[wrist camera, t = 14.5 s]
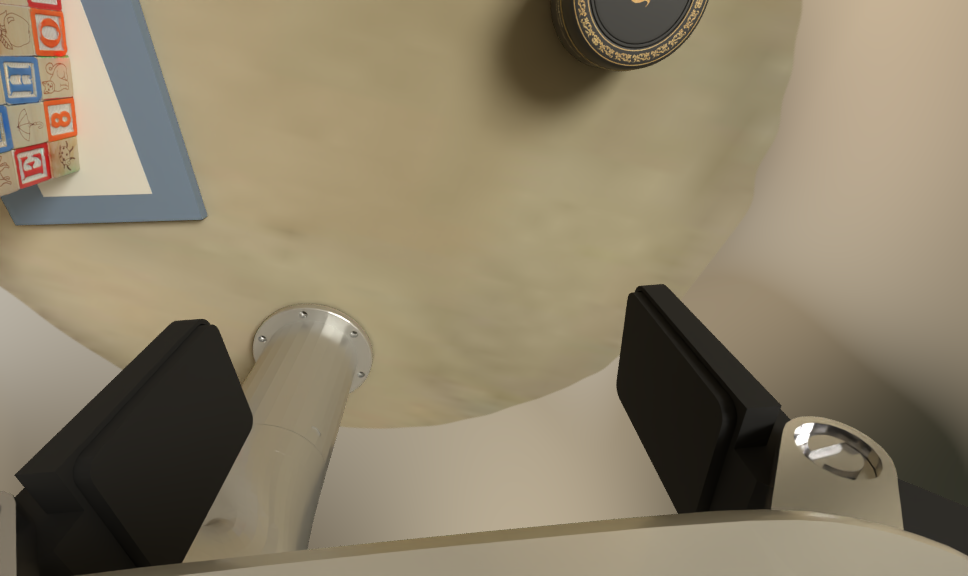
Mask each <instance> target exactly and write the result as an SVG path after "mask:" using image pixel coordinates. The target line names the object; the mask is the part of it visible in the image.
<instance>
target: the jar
mask: <svg viewBox="0 0 968 576" xmlns="http://www.w3.org/2000/svg"><path fill="white" fill-rule="evenodd" d="M707 3H708V0H551V13H552V19H553V23H554V27H555V30H556V32H557V35H558V37H559V39H560V41H561V42H562V44H563V45H564V47H565V48H566V49H567V50H568V52H569V53H570V54H571V55H573V56H574V57H575V58H576V59H578V60H579V61H581V62H583V63H585V64H587V65H590V66H593V67H598V68H603V69H607V70H612V71H629V70H635V69H640V68H644V67H648V66H651V65H653V64H656V63H658V62H660V61H661V60H663V59H665V58H666V57H668V56H669V55H671V54H672V53H673V52H675V51H676V50H677V49H678V48H679V47H680V46H681V45H682V44H683V43H684V42H685V41H686V40H687V39H688V38H689V36H690V35H691V34H692V32H693V31H694V29H695V28H696V26H697V25H698V23H699V21H700V19H701V17H702V15H703V13H704V11H705V9H706V6H707Z"/></svg>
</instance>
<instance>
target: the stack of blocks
mask: <svg viewBox="0 0 968 576" xmlns="http://www.w3.org/2000/svg"><path fill="white" fill-rule="evenodd" d="M61 9H62V5H61V0H0V197H1V196H3V195H8V194H10V193H13V192H16V191H18V189H23V188H26V187H29V186H32V185H35V184H38V183H41V182H44V181H47V180H49V179H54V178H58V177H61V176H64V175H67V174H70V173H73V172H76V171H79V169H80V164H79V153H78V144H77V137H76V136H77V123H76V114H75V105H74V99H73V83H72V73H71V64H70V58H69V56H68V54H67V45H66V34H65V26H64V16H63V12H62V10H61Z"/></svg>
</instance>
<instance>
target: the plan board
mask: <svg viewBox="0 0 968 576" xmlns="http://www.w3.org/2000/svg"><path fill="white" fill-rule="evenodd" d="M61 5H62V9H61V10H62V12H63V16H64V26H65V34H66V45H67V54H68V56H69V58H70V64H71V73H72V83H73V99H74V105H75V114H76V123H77V136H76V137H77V144H78V153H79V164H80V169H79V171H76V172H73V173H70V174H67V175H64V176H61V177H58V178H54V179H49V180H47V181H44V182H41V183H38V184H35V185H32V186H29V187H26V188H23V189H18V191H16V192H13V193H10V194H8V195H3V196H1V199H2V201H3V203H4V205H5V206H6V208H7V210H8V212H9V214H10V216H11V217H12V219H13V221H14V223H15V225H42V224H74V223H107V222H139V221H171V220H202V219H204V218H205V217H207V213H206V209H205V206H204V203H203V200H202V197H201V194H200V191H199V188H198V184H197V181H196V178H195V175H194V172H193V169H192V166H191V162H190V159H189V156H188V153H187V150H186V147H185V144H184V140H183V137H182V134H181V131H180V128H179V125H178V122H177V118H176V115H175V112H174V109H173V106H172V103H171V100H170V97H169V93H168V90H167V87H166V84H165V81H164V78H163V75H162V71H161V68H160V65H159V62H158V59H157V56H156V53H155V49H154V46H153V43H152V40H151V37H150V34H149V31H148V27H147V24H146V21H145V18H144V15H143V12H142V9H141V6H140V2H139V0H61Z"/></svg>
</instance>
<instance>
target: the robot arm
mask: <svg viewBox="0 0 968 576" xmlns="http://www.w3.org/2000/svg"><path fill="white" fill-rule="evenodd" d="M304 311H305V312H304ZM253 357H254V360H255V365H254V367H253V368H252V370H251V372H250V373H249V375H248V376H247V378H246V380H245V381H244V383H243V384H242V386H241V384H240V382H239V379H238V377H237V374H236V372H235V369H234V367H233V364H232V362H231V359H230V357H229V354H228V352H227V349H226V347H225V344H224V342H223V339H222V337H221V334H220V332H219V330H218V328H217V327H216V326H215V325H210V323H209V322H208V321H207V320H205V319H195V320H181V321H174V322H172V323H171V324H170V325H169V326H168V327H167V328H166V329H165V330H164V331H163V332H161V333H160V334H159V335H158V336H157V337H156V338H155V339H154V340H153V341H152V342H151V343H150V344H149V345H148V346H147V347H146V348H145V349H144V350H143V351H142V352H141V353H140V354H139V355H138V356H137V357H136V358H135V359H134V360H133V361H132V362H131V363H130V364H129V365H127V366H126V367H125V368H124V369H123V370H122V371H121V372H120V373H119V374H118V375H117V376H116V377H115V378H114V379H113V380H112V381H111V382H110V383H109V384H108V385H107V386H106V387H105V388H104V389H103V390H102V391H101V392H100V393H99V394H98V395H97V396H96V397H95V398H94V399H92V400H91V401H90V402H89V403H88V404H87V405H86V406H85V407H84V408H83V409H82V410H81V411H80V412H79V413H78V414H77V415H76V416H75V417H74V418H73V419H72V420H71V421H70V422H69V423H68V424H67V425H66V426H65V427H64V428H63V429H62V430H61V431H60V432H59V433H57V434H56V435H55V436H54V437H53V438H52V439H51V440H50V441H49V442H48V443H47V444H46V445H45V446H44V447H43V448H42V449H41V450H40V451H39V452H38V453H37V454H36V455H35V456H34V457H33V458H32V459H31V460H30V461H29V462H28V463H27V464H26V465H25V466H23V468H21V470H20V471H18V472H17V473H16V474H15V476H16V478H17V479H18V480H19V481H20V482H21V484H22V485H23V486H24V487H25V488H24V489H23V490H22V491H21V492H20V493H19V494H18V495H17V496H16V497H14V496H13V495H11V494H9V493H7V492H4V491H0V576H968V507H966V506H964V505H961V504H959V503H957V502H954V501H952V500H949V499H947V498H944V497H942V496H939V495H937V494H935V493H932V492H930V491H927V490H925V489H922V488H920V487H917V486H915V485H913V484H910V483H907V482H905V481H903V480H900V479H898V478H897V472H896V469H895V466H894V463H893V461H892V459H891V458H890V457H889V455H888V454H887V453H886V452H885V450H884V449H883V448H882V447H881V446H879V445H878V444H877V443H876V442H875V441H873V440H872V439H871V438H869V437H868V436H866V435H865V434H863V433H861V432H860V431H858V430H856V429H854V428H852V427H850V426H847V425H845V424H843V423H840V422H838V421H834V420H830V419H826V418H822V417H811V416H805V417H798V418H794V419H792V420H790V419H789V418H788V417H787V416H786V414H785V413H784V412H783V411H782V410H781V409H780V408H781V405H780V404H779V403H778V402H777V400H776V399H775V398H774V397H773V396H772V395H771V394H770V393H769V392H768V391H767V390H766V389H765V388H764V387H763V386H762V385H761V384H760V383H759V382H758V381H757V380H756V379H755V378H754V377H753V376H752V374H751V373H750V372H749V371H748V370H747V369H745V367H744V366H743V365H742V364H741V363H740V362H739V361H738V360H737V359H736V358H735V357H734V356H733V355H732V354H731V353H730V352H729V351H728V350H727V349H726V348H725V346H724V345H723V344H722V343H721V342H720V341H719V340H718V339H717V338H716V337H715V336H714V335H713V334H712V333H711V332H710V331H709V330H708V329H707V328H706V327H705V326H704V325H703V324H702V323H701V322H700V320H699V319H697V318H696V316H695V315H694V314H693V313H692V312H690V310H689V309H688V308H687V307H686V306H685V305H684V304H683V303H682V302H681V301H680V300H679V299H678V298H677V297H676V295H675V294H674V293H673V292H672V291H671V290H670V289H669V288H668V287H667V286H666V285H664V284H659V285H646V286H638V287H637V288H636V290H635V292H634V293H630V294H629V296H628V300H627V307H626V315H625V322H624V330H623V337H622V345H621V352H620V360H619V367H618V375H617V392H618V396H619V399H620V400H621V403H622V404H623V406H624V408H625V410H626V412H627V414H628V416H629V418H630V420H631V422H632V424H633V426H634V428H635V430H636V432H637V434H638V436H639V438H640V440H641V442H642V444H643V446H644V448H645V449H646V452H647V454H648V456H649V457H650V460H651V462H652V463H653V465H654V467H655V469H656V471H657V473H658V475H659V477H660V479H661V481H662V483H663V485H664V487H665V489H666V491H667V493H668V495H669V497H670V499H671V501H672V503H673V505H674V507H675V509H676V511H677V513H678V514H671V515H659V516H647V517H633V518H621V519H611V520H601V521H590V522H580V523H570V524H559V525H549V526H539V527H528V528H517V529H507V530H497V531H486V532H477V533H466V534H456V535H446V536H437V537H427V538H417V539H407V540H397V541H387V542H377V543H368V544H358V545H348V546H339V547H329V548H320V549H309V550H308V544H309V539H310V534H311V530H312V524H313V520H314V516H315V512H316V509H317V505H318V501H319V497H320V494H321V490H322V486H323V483H324V479H325V476H326V472H327V468H328V465H329V461H330V458H331V455H332V451H333V447H334V444H335V441H336V437H337V433H338V430H339V427H340V423H341V420H342V416H343V413H344V409H345V406H346V402H347V398H348V395H349V393H351V392H353V391H355V390H356V389H357V388H358V387H360V386H361V385H362V383H363V382H364V381H365V380H366V378H367V376H368V374H369V372H370V369H371V366H372V360H373V351H372V345H371V342H370V340H369V337H368V336H367V334H366V333H365V331H364V330H363V328H362V327H361V326H360V325H359V324H358V323H357V322H356V321H355V320H353V319H352V318H351V317H349V316H348V315H346V314H344V313H342V312H340V311H338V310H336V309H333V308H330V307H327V306H323V305H317V304H298V305H292V306H288V307H285V308H283V309H280V310H278V311H276V312H275V313H273V314H271V315H270V316H269V317H268V318H267V319H266V320H265V321H264V322H263V323H262V325H261V326H260V328H259V329H258V331H257V333H256V335H255V337H254V342H253Z"/></svg>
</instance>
